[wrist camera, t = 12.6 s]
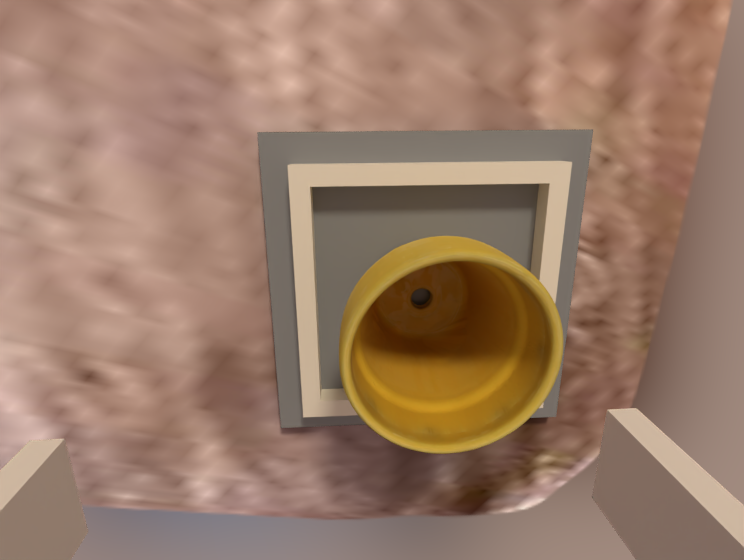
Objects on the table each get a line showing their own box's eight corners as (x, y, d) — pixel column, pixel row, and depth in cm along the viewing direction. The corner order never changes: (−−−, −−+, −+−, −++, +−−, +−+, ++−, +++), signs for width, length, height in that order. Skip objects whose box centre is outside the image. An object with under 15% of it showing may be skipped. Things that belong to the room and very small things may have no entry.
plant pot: (490, 362, 32) (550, 455, 22) (341, 363, 31) (338, 460, 22) (505, 213, 28) (582, 250, 19) (340, 212, 28) (337, 249, 19)
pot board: (282, 419, 33) (278, 441, 31) (260, 132, 27) (252, 131, 25) (550, 409, 34) (565, 429, 32) (584, 129, 28) (606, 129, 26)
